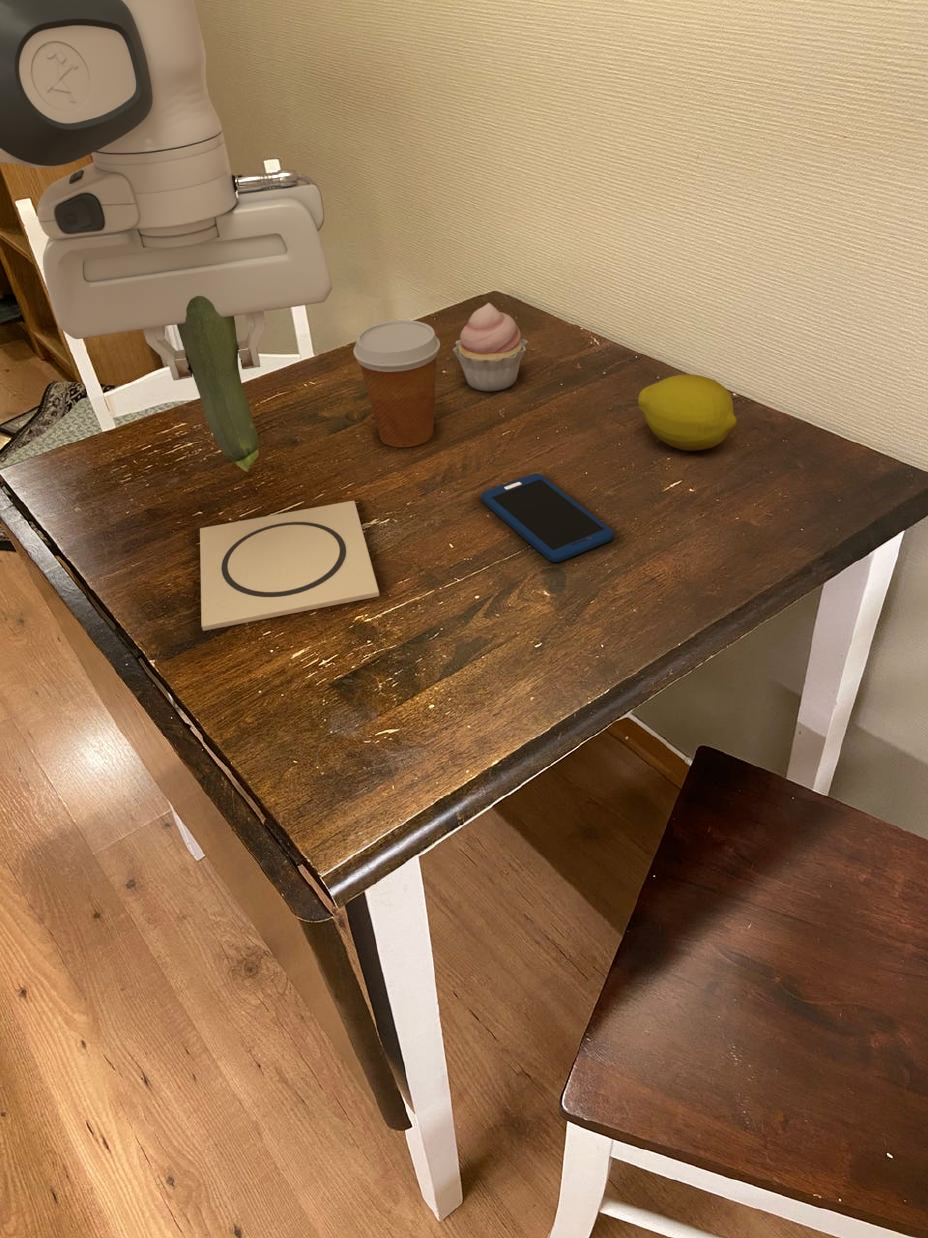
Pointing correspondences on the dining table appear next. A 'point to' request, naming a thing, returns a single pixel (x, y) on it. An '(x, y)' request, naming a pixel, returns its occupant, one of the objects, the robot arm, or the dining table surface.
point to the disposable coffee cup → (400, 379)
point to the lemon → (688, 411)
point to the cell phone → (547, 517)
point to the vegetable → (219, 379)
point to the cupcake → (490, 350)
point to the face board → (283, 565)
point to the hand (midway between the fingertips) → (217, 371)
